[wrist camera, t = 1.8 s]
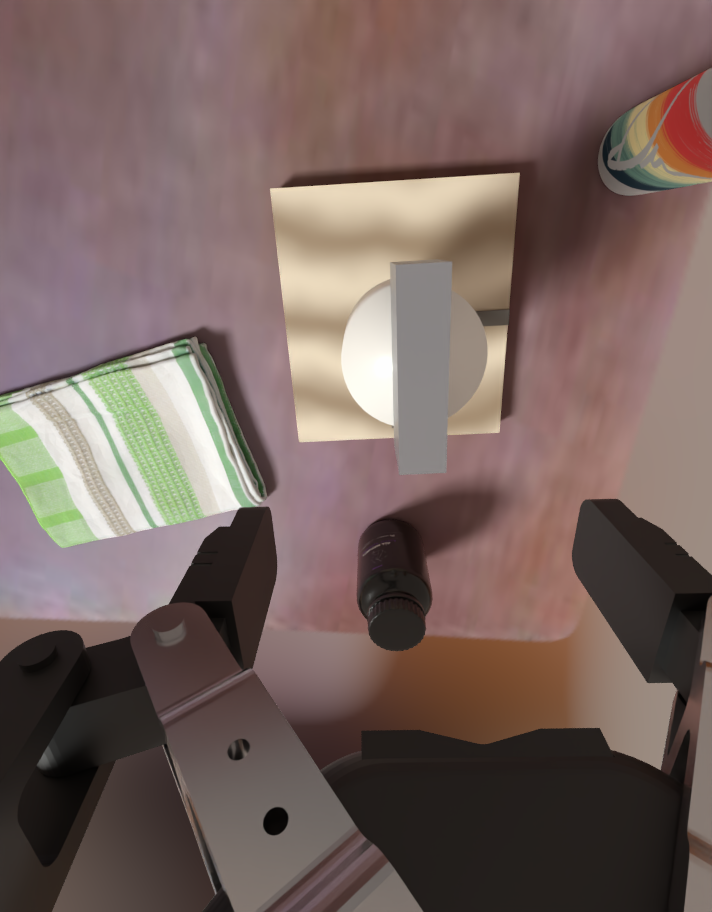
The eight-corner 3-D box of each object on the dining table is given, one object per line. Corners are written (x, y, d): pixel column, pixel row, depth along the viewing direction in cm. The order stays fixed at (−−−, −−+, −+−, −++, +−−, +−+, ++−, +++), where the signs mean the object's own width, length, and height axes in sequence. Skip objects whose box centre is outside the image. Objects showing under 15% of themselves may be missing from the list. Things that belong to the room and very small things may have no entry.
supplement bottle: (373, 507, 47) (377, 586, 36) (433, 530, 48) (455, 613, 37) (347, 558, 50) (343, 646, 39) (404, 578, 51) (417, 670, 40)
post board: (274, 191, 35) (245, 172, 26) (511, 176, 35) (565, 151, 26) (301, 434, 44) (286, 483, 34) (493, 424, 43) (529, 472, 34)
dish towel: (272, 496, 47) (265, 515, 44) (71, 545, 50) (51, 566, 47) (205, 330, 40) (191, 338, 37) (-23, 398, 43) (-54, 410, 40)
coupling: (338, 262, 28) (330, 268, 20) (471, 254, 28) (518, 257, 19) (348, 418, 32) (345, 477, 24) (464, 412, 32) (501, 470, 24)
